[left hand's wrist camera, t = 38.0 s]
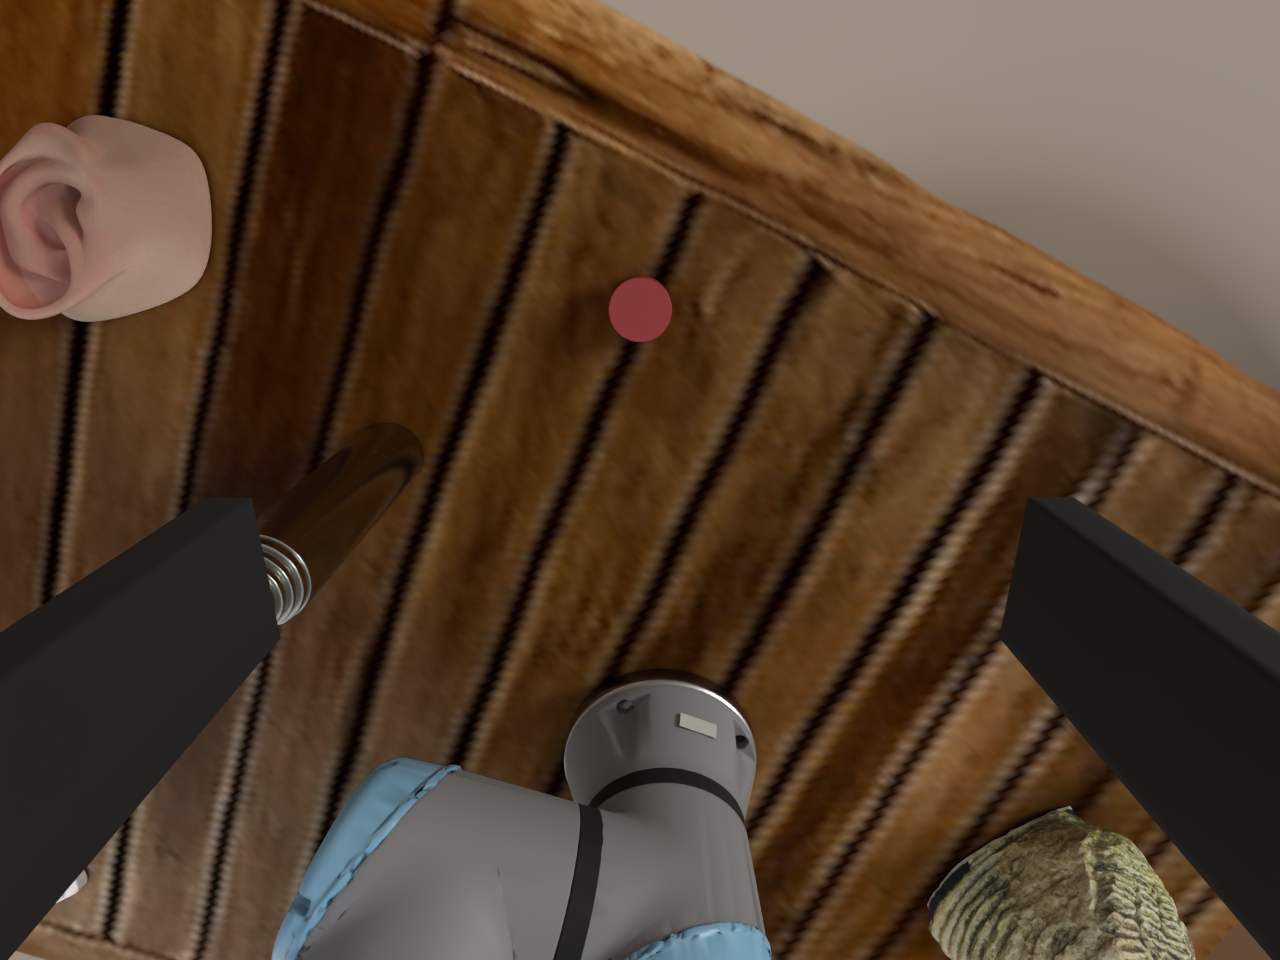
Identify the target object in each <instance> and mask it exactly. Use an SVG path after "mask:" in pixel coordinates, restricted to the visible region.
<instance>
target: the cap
mask: <svg viewBox="0 0 1280 960" xmlns="http://www.w3.org/2000/svg"><path fill="white" fill-rule="evenodd" d="M671 314H672V305H671V301H670V297H669V295H668V293H667V291H666V289H665V288H664V286H663V285H662V284H661V283H660V282H658V281H657V280H655V279H653V278H651V277H648V276H642V275H638V276H632V277H629V278H627V279H625V280H624V281H622V282H621V283H620V284H619V285H618V286H617V287H616V288H615V290H614V292H613V294H612V296H611V299H610V303H609V317H610V321H611V323H612V325H613V327H614V329H615V330H616V331H617V332H618V333H619V334H620V335H621V336H623V337H624V338H626V339H628V340H630V341H634V342H646V341H650V340H652V339H655V338H656V337H658V336H659V335H661V334H662V333H663V332H664V330H665V329H666V328H667V326H668V324H669V322H670V319H671Z"/></svg>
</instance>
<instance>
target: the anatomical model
mask: <svg viewBox="0 0 1280 960" xmlns="http://www.w3.org/2000/svg"><path fill="white" fill-rule="evenodd" d="M211 237H212V214H211V202H210V193H209V187H208V181H207V177H206V173H205V170H204V167H203V165H202V162H201V161H200V159H199V157H198V156H197V154H196V153H195V152H194V151H193V150H192V149H191V148H190V147H189V146H187V145H186V144H184V143H183V142H181V141H179V140H177V139H175V138H173V137H171V136H169V135H167V134H164V133H162V132H159V131H156V130H154V129H151V128H148V127H146V126H143V125H140V124H137V123H134V122H131V121H127V120H122V119H117V118H112V117H107V116H101V115H89V116H84V117H81V118H79V119H77V120H75V121H74V122H72V123H71V124H70V125H68V126H67V127H66V128H65V127H63V126H60V125H58V124H54V123H40V124H37V125H35V126H33V127H32V128H31V129H30V130H29V131H27V133H26V134H25V135H24V136H23V137H22V138H21V139H20V140H19V141H18V142H17V144H16V145H15V146H14V147H13V148H12V149H11V150H10V151H9V152H8V153H7V154H6V155H5V156H4V157H3V158H2V160H1V161H0V306H1V307H2V308H3V309H4V310H5V311H6V312H8V313H9V314H11V315H13V316H15V317H18V318H21V319H29V320H35V319H42V318H48V317H51V316H54V315H57V314H60V313H62V314H63V315H65V316H67V317H69V318H71V319H74V320H78V321H85V322H94V321H103V320H109V319H114V318H119V317H123V316H127V315H131V314H134V313H138V312H141V311H144V310H147V309H150V308H153V307H156V306H159V305H161V304H164V303H166V302H168V301H171V300H173V299H175V298H177V297H179V296H181V295H182V294H184V293H185V292H187V291H189V290H190V289H191V288H192V287H193V286H194V285H195V284H196V283H197V282H198V281H199V279H200V278H201V277H202V275H203V273H204V271H205V268H206V266H207V262H208V259H209V253H210V248H211Z"/></svg>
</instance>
